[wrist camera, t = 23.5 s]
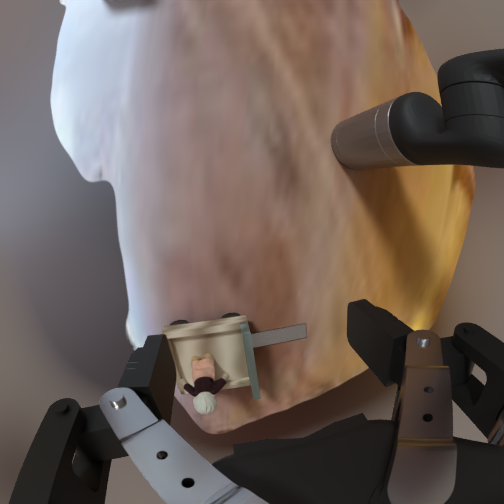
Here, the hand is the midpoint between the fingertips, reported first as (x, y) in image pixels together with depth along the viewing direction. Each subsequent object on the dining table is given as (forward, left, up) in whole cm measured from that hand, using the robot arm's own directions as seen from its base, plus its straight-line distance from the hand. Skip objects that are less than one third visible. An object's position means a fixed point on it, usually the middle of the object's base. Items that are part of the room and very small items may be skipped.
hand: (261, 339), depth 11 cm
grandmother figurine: (+7, +21, -31) cm, 38 cm away
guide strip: (+1, +21, -34) cm, 40 cm away
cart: (+6, +21, -34) cm, 40 cm away
